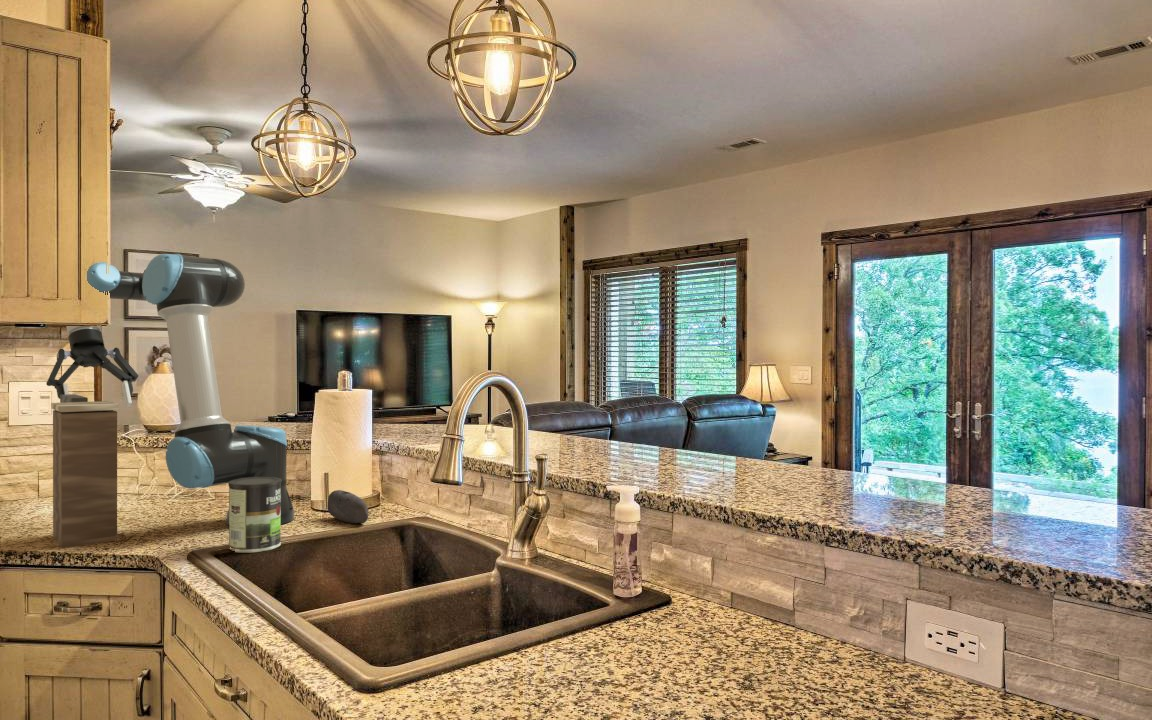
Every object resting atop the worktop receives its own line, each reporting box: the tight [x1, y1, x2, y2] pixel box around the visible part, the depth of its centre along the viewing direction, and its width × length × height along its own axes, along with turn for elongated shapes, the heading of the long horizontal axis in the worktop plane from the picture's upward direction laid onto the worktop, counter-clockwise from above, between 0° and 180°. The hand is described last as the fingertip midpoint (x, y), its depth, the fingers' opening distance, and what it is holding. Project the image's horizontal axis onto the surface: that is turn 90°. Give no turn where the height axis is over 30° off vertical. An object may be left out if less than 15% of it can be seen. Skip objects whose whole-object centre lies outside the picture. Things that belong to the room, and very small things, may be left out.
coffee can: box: [227, 477, 282, 554], centre depth 159 cm, size 10×10×14 cm
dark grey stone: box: [326, 489, 370, 524], centre depth 183 cm, size 15×5×7 cm, turn 45°
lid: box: [50, 393, 120, 412], centre depth 170 cm, size 29×11×2 cm, turn 42°
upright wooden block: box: [52, 409, 118, 549], centre depth 164 cm, size 12×10×28 cm
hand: (99, 407), depth 193 cm, fingers open, 13 cm apart
